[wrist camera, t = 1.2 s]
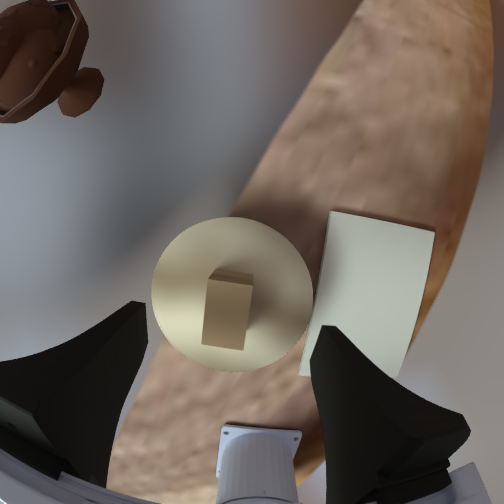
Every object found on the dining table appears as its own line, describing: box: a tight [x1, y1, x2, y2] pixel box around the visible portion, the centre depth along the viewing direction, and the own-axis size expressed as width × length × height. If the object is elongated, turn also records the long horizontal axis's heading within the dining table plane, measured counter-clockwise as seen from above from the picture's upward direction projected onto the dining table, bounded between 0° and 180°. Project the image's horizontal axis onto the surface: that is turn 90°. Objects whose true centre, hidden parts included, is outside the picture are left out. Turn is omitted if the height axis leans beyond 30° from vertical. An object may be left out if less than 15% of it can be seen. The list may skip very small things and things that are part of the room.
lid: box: [152, 217, 313, 372], centre depth 18 cm, size 11×11×4 cm
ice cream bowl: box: [0, 0, 104, 123], centre depth 13 cm, size 11×11×15 cm
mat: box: [298, 211, 435, 378], centre depth 22 cm, size 14×10×1 cm
